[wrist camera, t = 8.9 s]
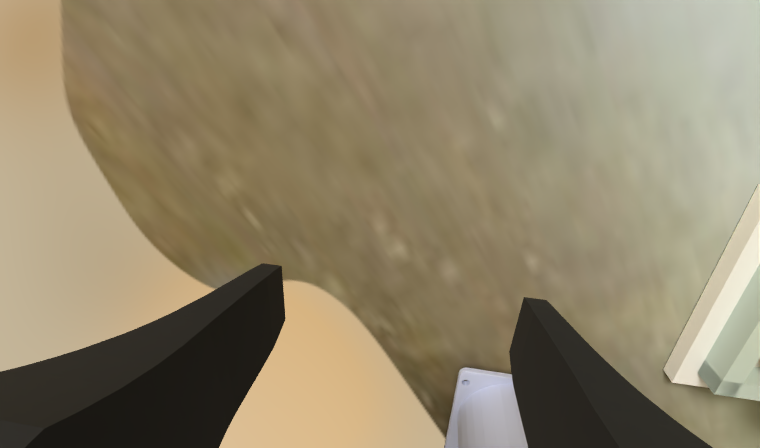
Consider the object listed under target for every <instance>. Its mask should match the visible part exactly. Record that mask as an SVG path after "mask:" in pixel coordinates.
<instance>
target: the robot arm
mask: <svg viewBox="0 0 760 448" xmlns="http://www.w3.org/2000/svg"><path fill="white" fill-rule="evenodd" d="M284 321H285V308H284V293H283V279H282V266H278V265H270V264H261V265H259V266H257V267H255V268H253V269H251V270H249V271H247V272H246V273H244V274H242V275H241V276H239V277H237V278H235V279H234V280H232V281H230V282H228V283H227V284H225V285H223V286H221V287H220V288H218V289H216V290H214V291H213V292H211V293H209V294H207V295H206V296H204V297H202V298H200V299H198V300H196V301H194V302H192V303H190V304H188V305H186V306H184V307H182V308H181V309H179V310H177V311H175V312H173V313H171V314H169V315H166V316H164V317H162V318H160V319H158V320H156V321H153V322H151V323H149V324H146V325H144V326H142V327H139V328H137V329H135V330H132V331H130V332H127V333H125V334H122V335H119V336H116V337H114V338H111V339H108V340H105V341H102V342H100V343H97V344H94V345H91V346H89V347H86V348H83V349H80V350H77V351H74V352H71V353H67V354H64V355H61V356H58V357H54V358H51V359H47V360H44V361H40V362H36V363H33V364H29V365H26V366H22V367H18V368H15V369H10V370H6V371H2V372H0V448H219V446H220V444H221V442H222V439H223V437H224V435H225V433H226V431H227V429H228V427H229V425H230V423H231V421H232V419H233V417H234V415H235V413H236V412H237V410H238V408H239V406H240V405H241V403H242V401H243V400H244V398H245V396H246V395H247V393H248V391H249V389H250V388H251V386H252V384H253V382H254V381H255V379H256V377H257V376H258V374H259V372H260V371H261V369H262V367H263V365H264V363H265V362H266V360H267V358H268V357H269V355H270V353H271V351H272V350H273V348H274V345H275V343H276V341H277V338H278V336H279V334H280V331H281V329H282V326H283V323H284ZM510 362H511V372H512V374H506V373H500V372H493V371H486V370H480V369H473V368H462V369H461V370H460V371H459V374H458V379H457V384H456V390H455V395H454V400H453V405H452V410H451V415H450V420H449V425H448V431H447V436H446V441H445V446H444V448H712V447H711V446H710V445H708V444H707V443H705V442H704V441H703V440H701V439H700V438H698V437H697V436H696V435H694V434H693V433H691V432H690V431H689V430H687V429H686V428H685V427H683V426H682V425H681V424H679V423H678V422H677V421H675V420H674V419H673V418H671V417H670V416H669V415H668V414H666V413H665V412H664V411H663V410H661V409H660V408H659V407H658V406H656V405H655V404H654V403H653V402H651V401H650V400H649V399H648V398H647V397H645V396H644V395H643V394H642V393H641V392H639V391H638V390H637V389H636V388H635V387H634V386H632V385H631V384H630V383H629V382H628V381H627V380H626V379H625V378H624V377H622V376H621V375H620V374H619V373H618V372H617V371H616V370H615V369H614V368H613V367H611V366H610V365H609V364H608V363H607V362H606V361H605V360H604V359H603V358H602V357H601V356H600V355H599V354H598V353H597V352H596V351H595V350H594V349H593V348H592V347H591V346H590V345H589V344H588V343H587V342H586V341H585V340H584V339H583V338H582V337H581V336H580V335H579V334H578V333H577V332H576V331H575V330H574V329H573V327H572V326H571V325H570V324H569V323H568V322H567V321H566V320H565V319H564V318H563V317H562V316H561V315H560V314H559V313H558V312H557V311H556V309H555V308H554V307H553V306H552V305H551V304H550V303H549V302H548V301H547V300H541V299H533V298H525V297H524V299H523V303H522V307H521V310H520V314H519V318H518V322H517V325H516V329H515V333H514V337H513V340H512V344H511V348H510ZM464 380H467V381H464Z"/></svg>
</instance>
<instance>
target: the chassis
mask: <svg viewBox="0 0 760 448" xmlns="http://www.w3.org/2000/svg"><path fill="white" fill-rule="evenodd" d="M663 370H664V371H665V373H666V374H667V376H668V377H669V379H670V380H671V382H672V383H679V384H686V385H693V386H700V387H706V388H710V390H711V391H712V392H713V394H716V395H722V396H729V397H736V398H743V399H749V400H756V401H760V184H758V186H757V188H756V190H755V192H754V194H753V196H752V198H751V200H750V202H749V204H748V205H747V207H746V209H745V211H744V213H743V215H742V217H741V219H740V221H739V223H738V225H737V227H736V229H735V231H734V233H733V235H732V237H731V239H730V240H729V242H728V244H727V246H726V248H725V250H724V252H723V254H722V256H721V258H720V260H719V262H718V264H717V266H716V268H715V270H714V272H713V274H712V275H711V277H710V279H709V281H708V283H707V285H706V287H705V289H704V291H703V293H702V295H701V297H700V299H699V301H698V303H697V305H696V307H695V309H694V310H693V312H692V314H691V316H690V318H689V320H688V322H687V324H686V326H685V328H684V330H683V332H682V334H681V336H680V338H679V340H678V342H677V344H676V345H675V347H674V349H673V351H672V353H671V355H670V357H669V359H668V361H667V363H666V365H665V367H664V369H663Z"/></svg>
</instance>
